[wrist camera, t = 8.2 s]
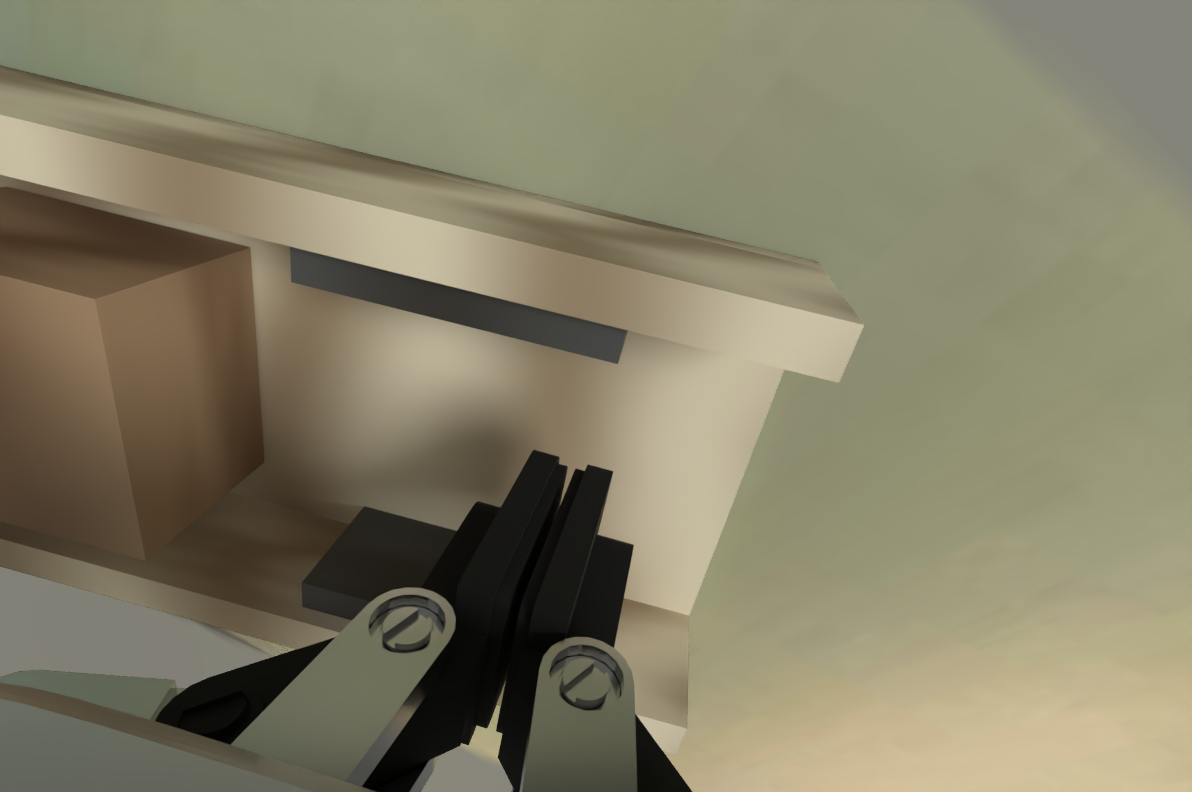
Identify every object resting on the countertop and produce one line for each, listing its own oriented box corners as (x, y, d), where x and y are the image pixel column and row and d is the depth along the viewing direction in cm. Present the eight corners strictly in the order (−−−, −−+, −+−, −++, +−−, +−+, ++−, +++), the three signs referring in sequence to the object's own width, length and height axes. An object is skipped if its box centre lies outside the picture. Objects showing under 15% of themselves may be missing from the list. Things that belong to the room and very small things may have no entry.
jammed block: (250, 247, 14) (95, 299, 10) (264, 462, 17) (145, 561, 13) (6, 186, 14) (-228, 216, 10) (60, 408, 17) (-111, 490, 13)
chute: (817, 261, 13) (864, 325, 9) (680, 623, 18) (675, 754, 14) (-140, 32, 14) (-434, 8, 10) (-12, 437, 19) (-178, 516, 15)
